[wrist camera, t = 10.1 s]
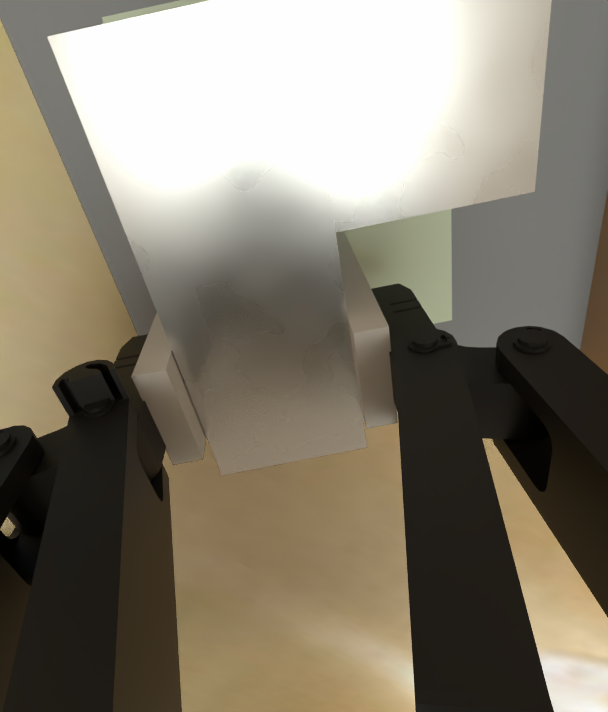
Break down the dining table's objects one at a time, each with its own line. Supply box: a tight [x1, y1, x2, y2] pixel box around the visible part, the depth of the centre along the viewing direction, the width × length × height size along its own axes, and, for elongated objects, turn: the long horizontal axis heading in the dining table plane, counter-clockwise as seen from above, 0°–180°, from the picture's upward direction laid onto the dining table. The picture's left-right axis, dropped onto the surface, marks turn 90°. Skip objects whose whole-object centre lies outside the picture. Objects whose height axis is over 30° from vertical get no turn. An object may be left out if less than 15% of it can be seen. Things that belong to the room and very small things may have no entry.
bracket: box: [47, 0, 552, 476], centre depth 12 cm, size 10×8×6 cm
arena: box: [0, 0, 608, 374], centre depth 13 cm, size 18×18×6 cm
